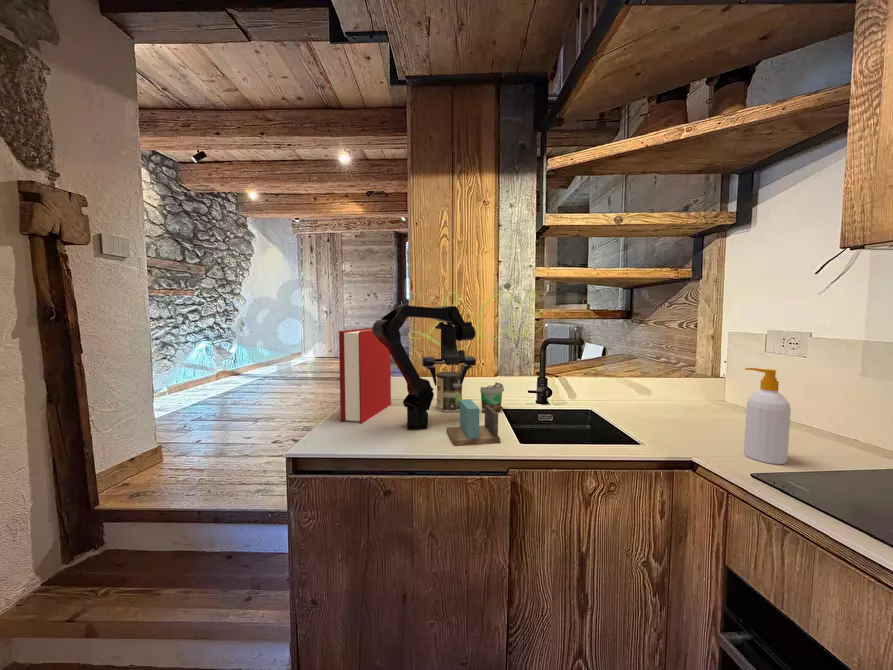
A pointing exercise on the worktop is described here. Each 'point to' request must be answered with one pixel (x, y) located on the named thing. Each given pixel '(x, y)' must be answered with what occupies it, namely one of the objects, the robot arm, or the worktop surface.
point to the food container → (492, 396)
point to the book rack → (486, 432)
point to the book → (363, 375)
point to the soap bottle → (767, 422)
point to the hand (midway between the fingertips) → (448, 385)
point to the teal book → (469, 419)
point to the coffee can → (448, 391)
